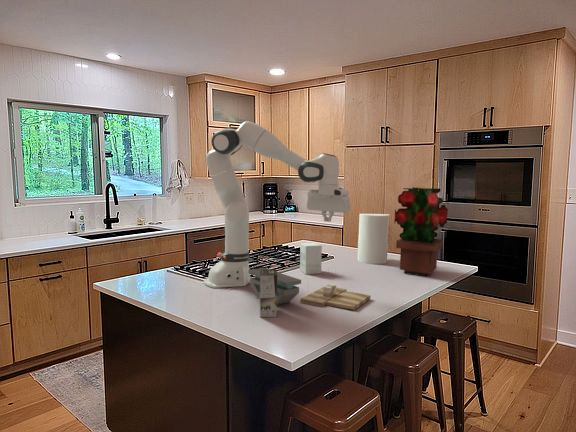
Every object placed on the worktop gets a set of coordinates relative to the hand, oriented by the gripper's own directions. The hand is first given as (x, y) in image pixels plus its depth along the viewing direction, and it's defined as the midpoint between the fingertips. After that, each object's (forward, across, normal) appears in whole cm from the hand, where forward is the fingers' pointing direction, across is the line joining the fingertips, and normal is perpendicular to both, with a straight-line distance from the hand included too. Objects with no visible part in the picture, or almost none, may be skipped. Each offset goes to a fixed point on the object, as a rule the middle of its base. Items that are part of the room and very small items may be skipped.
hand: (327, 221), depth 198 cm
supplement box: (+31, -20, +23) cm, 44 cm away
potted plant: (+31, +27, +57) cm, 70 cm away
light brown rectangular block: (+31, +5, -12) cm, 34 cm away
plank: (+31, +17, -12) cm, 37 cm away
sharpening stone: (+31, -10, -28) cm, 43 cm away
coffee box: (+31, -4, -42) cm, 52 cm away
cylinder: (+31, -3, +69) cm, 76 cm away
